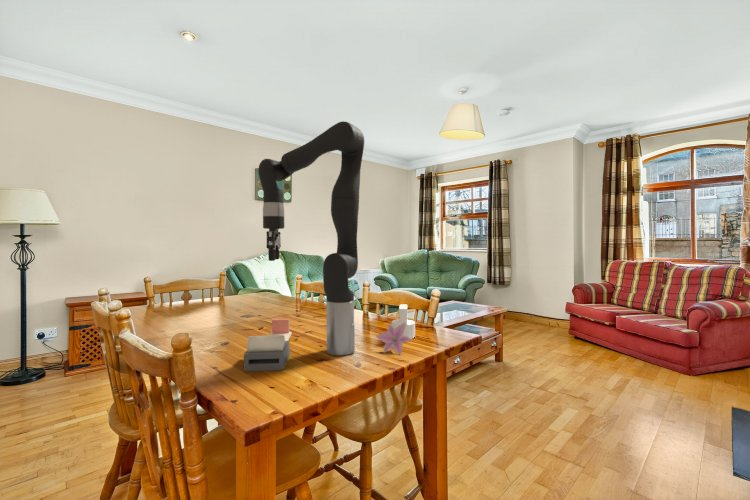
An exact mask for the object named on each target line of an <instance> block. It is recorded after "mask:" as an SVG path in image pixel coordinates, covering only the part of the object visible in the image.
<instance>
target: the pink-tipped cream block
mask: <svg viewBox="0 0 750 500" xmlns="http://www.w3.org/2000/svg"><path fill="white" fill-rule="evenodd" d="M292 333H293V332H292V331H290V318H272V319H271V331H270V333H269V334H268V336H269V335H284V336H285V341H290V340H289V339H290V337H291V335H292Z"/></svg>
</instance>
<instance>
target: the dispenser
mask: <svg viewBox="0 0 750 500" xmlns="http://www.w3.org/2000/svg"><path fill="white" fill-rule="evenodd" d="M290 356H291V348H290V340H288V341H285V336H284V335H269V334H268V335H249V336H248V338H247V342H246V351H245V352H244V354H243V371H244V372H262V371H263V372H264V371H265V372H266V371H267V372H268V371H270V372H271V371H284V370H285V367H286V365H287V363H288V360H289V358H290Z"/></svg>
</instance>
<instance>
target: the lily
mask: <svg viewBox="0 0 750 500" xmlns="http://www.w3.org/2000/svg"><path fill="white" fill-rule="evenodd" d="M405 326H406V323H402V324H401V325H399V326H397V327H396V328H394V327H393V326H392V324H391V323H387V331H386V332H381V333H380V334H377V335H376V336H375V338H377V339H378V340H379V341H381V342H383V343H385V344H384V347H383V353H386V352H388V351H390V350H391V349H392V350H393V351H394V352H395V353H397V354H398V353H399V354H400V353H401V355H403V354H402V353H403V344H404V343H407V342H410V341H412V340H411V339H410V338H408V337H407V336H405V335H403V334H404V330H405ZM399 354H398V355H399Z"/></svg>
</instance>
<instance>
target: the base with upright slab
mask: <svg viewBox="0 0 750 500" xmlns="http://www.w3.org/2000/svg"><path fill="white" fill-rule="evenodd" d="M402 323H406V326H405V330H404V334H403V335H405V336H407V337H408V338H410V339H412V338H414V337H415V338H416V321H415V320H411V319H408V304H406V303H405V304H400V303H399V308H398V319H394V320H392V321H391V325H392V326H393V327H394V328H396V327H397V326H399V325H401V324H402Z"/></svg>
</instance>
